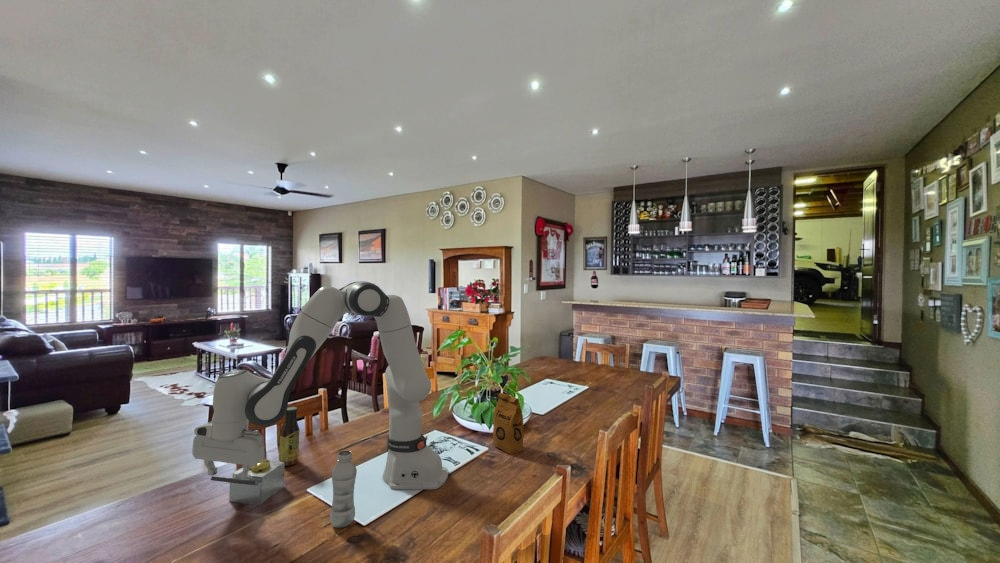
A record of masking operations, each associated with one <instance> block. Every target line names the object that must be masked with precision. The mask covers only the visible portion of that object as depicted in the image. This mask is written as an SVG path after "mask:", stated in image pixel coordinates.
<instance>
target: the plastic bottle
mask: <svg viewBox="0 0 1000 563" xmlns="http://www.w3.org/2000/svg"><path fill="white" fill-rule="evenodd" d="M352 460H353V453H352V451H351V450H342V451H339V452H338V453H337V458H336V461H337V463H336V464H335V466H333V469H332V471H331V482H332V503H331V509H330V512H329V522H330V524H331V526H332V527H334V528H337V529H339V528H341V529H342V528H346V527H348V526H350V525H351V524H352V523H353V522H354V520H355V516H356V508H355V507H356V506H355V497H354V494H355V493H354V492H355V484H356V478H357V477H356V476H357V473H358V472H357V467H356V465H355V463H353V461H352Z"/></svg>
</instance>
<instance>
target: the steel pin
mask: <svg viewBox="0 0 1000 563" xmlns="http://www.w3.org/2000/svg"><path fill="white" fill-rule="evenodd" d="M270 461H271V460H270ZM270 461H269V459H268V458H267V459H266V458H264V460H263V461H262V462H261V463H259V464H257V465H256V466H251V468H250V470H251V471H253V472H261V471H263V470H266V469H268V468H269V467H270Z"/></svg>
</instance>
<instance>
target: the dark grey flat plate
mask: <svg viewBox="0 0 1000 563" xmlns="http://www.w3.org/2000/svg"><path fill="white" fill-rule="evenodd" d="M210 481H214V482H221V483H222V482H223V483H228V484H230V483H237V484H247V485H255V486H257V485H258V481H252V480H241V479H235V478H232V477H221V476H214V475H213V476H212V475H211V477H210Z"/></svg>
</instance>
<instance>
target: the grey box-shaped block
mask: <svg viewBox="0 0 1000 563" xmlns="http://www.w3.org/2000/svg"><path fill="white" fill-rule="evenodd" d="M268 460H269V459H268ZM269 461H270V467H269V468H268V469H266V470H263V471H261V472H253V471H251V470H250V469H249V471H248V476H247V478H246V479H244V480H252V481H258V485H257V486H255V485H247V484H237V483H229V493H228V496H229V497H228V500H229V502H231V503H239V504H248V505H253V506H260V505H261V504H263V503H264V502H265V501H267V500H268V499H269V498H271V497H272V496H273V495H275V494H276V493H277V492H279V491H280V490H281V489H283V488H284V487H285V466H284V463H285V462H279V461H280V460H279V461H278V460H269ZM243 469H244V468H242V467H240V468H239V469H238V470H236V471H234V472H233V473H232V477H231V478H235V479H238V477H239V476H238V474H239V473H240V472H242V471H243Z"/></svg>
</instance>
